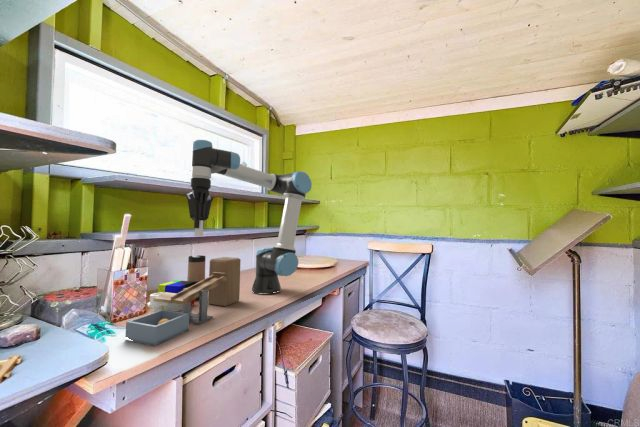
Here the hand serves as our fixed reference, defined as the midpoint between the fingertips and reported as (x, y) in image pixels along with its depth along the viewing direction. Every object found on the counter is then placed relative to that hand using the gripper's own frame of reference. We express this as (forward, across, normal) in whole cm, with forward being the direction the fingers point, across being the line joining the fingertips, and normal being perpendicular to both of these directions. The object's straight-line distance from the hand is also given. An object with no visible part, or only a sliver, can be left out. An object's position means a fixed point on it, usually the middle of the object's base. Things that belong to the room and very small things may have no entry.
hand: (198, 236), depth 107 cm
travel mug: (+31, -17, -16) cm, 38 cm away
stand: (+30, +6, +5) cm, 31 cm away
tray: (+30, +21, +5) cm, 37 cm away
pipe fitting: (+31, +7, -12) cm, 34 cm away
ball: (+28, +19, +5) cm, 34 cm away
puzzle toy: (+31, -4, -14) cm, 34 cm away
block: (+31, -16, +1) cm, 35 cm away
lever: (+21, +3, +1) cm, 21 cm away
